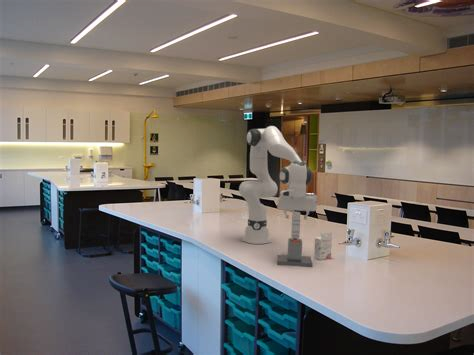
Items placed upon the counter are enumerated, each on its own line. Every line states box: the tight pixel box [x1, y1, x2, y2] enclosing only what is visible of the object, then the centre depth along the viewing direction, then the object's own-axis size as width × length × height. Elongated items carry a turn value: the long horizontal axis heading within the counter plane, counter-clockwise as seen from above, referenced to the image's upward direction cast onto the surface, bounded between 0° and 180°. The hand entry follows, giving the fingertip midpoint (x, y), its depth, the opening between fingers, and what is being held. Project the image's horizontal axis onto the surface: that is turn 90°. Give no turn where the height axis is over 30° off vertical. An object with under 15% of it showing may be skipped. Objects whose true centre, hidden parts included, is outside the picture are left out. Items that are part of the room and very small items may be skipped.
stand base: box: [276, 237, 313, 268], centre depth 225 cm, size 13×18×13 cm
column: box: [290, 211, 301, 241], centre depth 224 cm, size 4×4×18 cm
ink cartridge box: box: [313, 231, 333, 261], centre depth 235 cm, size 9×5×15 cm, turn 123°
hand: (296, 218), depth 224 cm, fingers open, 8 cm apart
